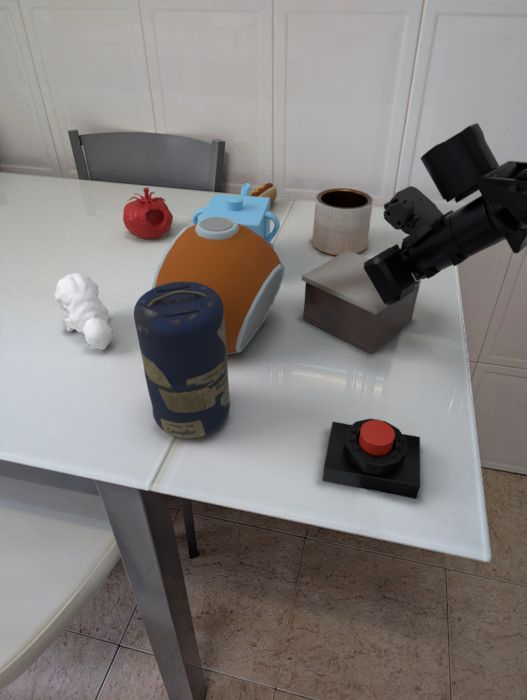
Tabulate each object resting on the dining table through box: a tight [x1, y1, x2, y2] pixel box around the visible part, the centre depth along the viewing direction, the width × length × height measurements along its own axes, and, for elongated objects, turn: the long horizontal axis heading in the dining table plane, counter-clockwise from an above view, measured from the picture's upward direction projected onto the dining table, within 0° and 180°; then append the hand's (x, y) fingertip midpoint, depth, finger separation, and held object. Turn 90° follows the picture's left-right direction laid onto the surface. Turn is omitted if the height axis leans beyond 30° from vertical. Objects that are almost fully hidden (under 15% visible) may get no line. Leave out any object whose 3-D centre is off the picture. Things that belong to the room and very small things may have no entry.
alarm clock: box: [151, 217, 285, 356], centre depth 71 cm, size 19×18×17 cm
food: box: [250, 182, 278, 206], centre depth 111 cm, size 14×6×5 cm, turn 150°
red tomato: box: [122, 187, 174, 240], centre depth 100 cm, size 10×10×9 cm
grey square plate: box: [301, 250, 422, 315], centre depth 74 cm, size 13×12×1 cm
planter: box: [312, 187, 374, 257], centre depth 96 cm, size 11×11×10 cm
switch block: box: [322, 418, 421, 500], centre depth 55 cm, size 10×7×4 cm
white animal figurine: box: [54, 272, 116, 351], centre depth 72 cm, size 6×8×12 cm
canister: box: [133, 281, 231, 440], centre depth 56 cm, size 10×10×18 cm
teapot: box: [191, 182, 281, 250], centre depth 90 cm, size 18×16×13 cm
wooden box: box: [302, 282, 421, 354], centre depth 76 cm, size 13×12×7 cm
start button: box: [359, 419, 395, 456], centre depth 53 cm, size 4×4×2 cm
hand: (375, 280), depth 72 cm, fingers closed
